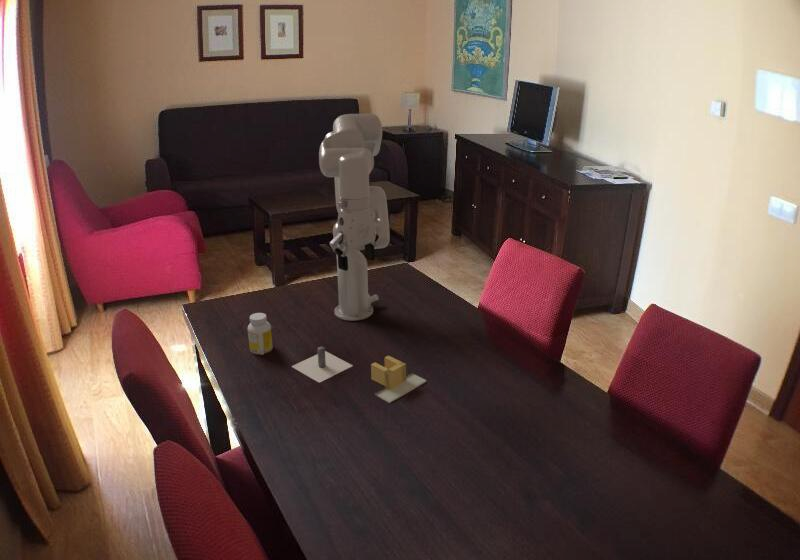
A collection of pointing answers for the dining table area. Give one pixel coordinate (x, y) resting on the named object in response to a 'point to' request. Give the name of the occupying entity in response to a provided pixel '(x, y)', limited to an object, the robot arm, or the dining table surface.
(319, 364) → the stand
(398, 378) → the c link
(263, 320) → the pill bottle
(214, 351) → the dining table surface
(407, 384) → the mat
